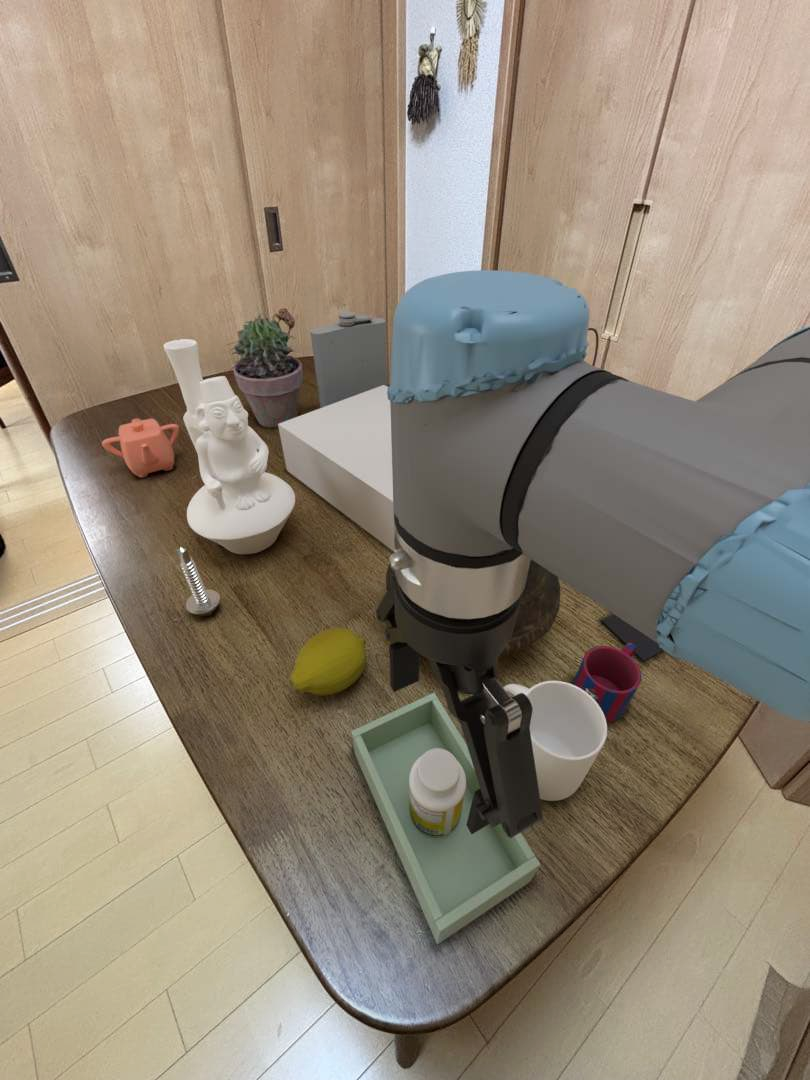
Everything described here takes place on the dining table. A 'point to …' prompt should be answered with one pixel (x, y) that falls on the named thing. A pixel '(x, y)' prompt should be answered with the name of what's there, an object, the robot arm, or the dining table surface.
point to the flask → (349, 357)
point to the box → (347, 458)
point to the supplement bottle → (436, 792)
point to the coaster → (632, 637)
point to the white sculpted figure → (228, 462)
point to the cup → (609, 678)
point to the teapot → (144, 446)
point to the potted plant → (268, 370)
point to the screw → (197, 588)
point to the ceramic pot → (530, 607)
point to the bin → (456, 858)
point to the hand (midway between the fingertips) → (439, 745)
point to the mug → (562, 735)
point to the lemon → (329, 662)
